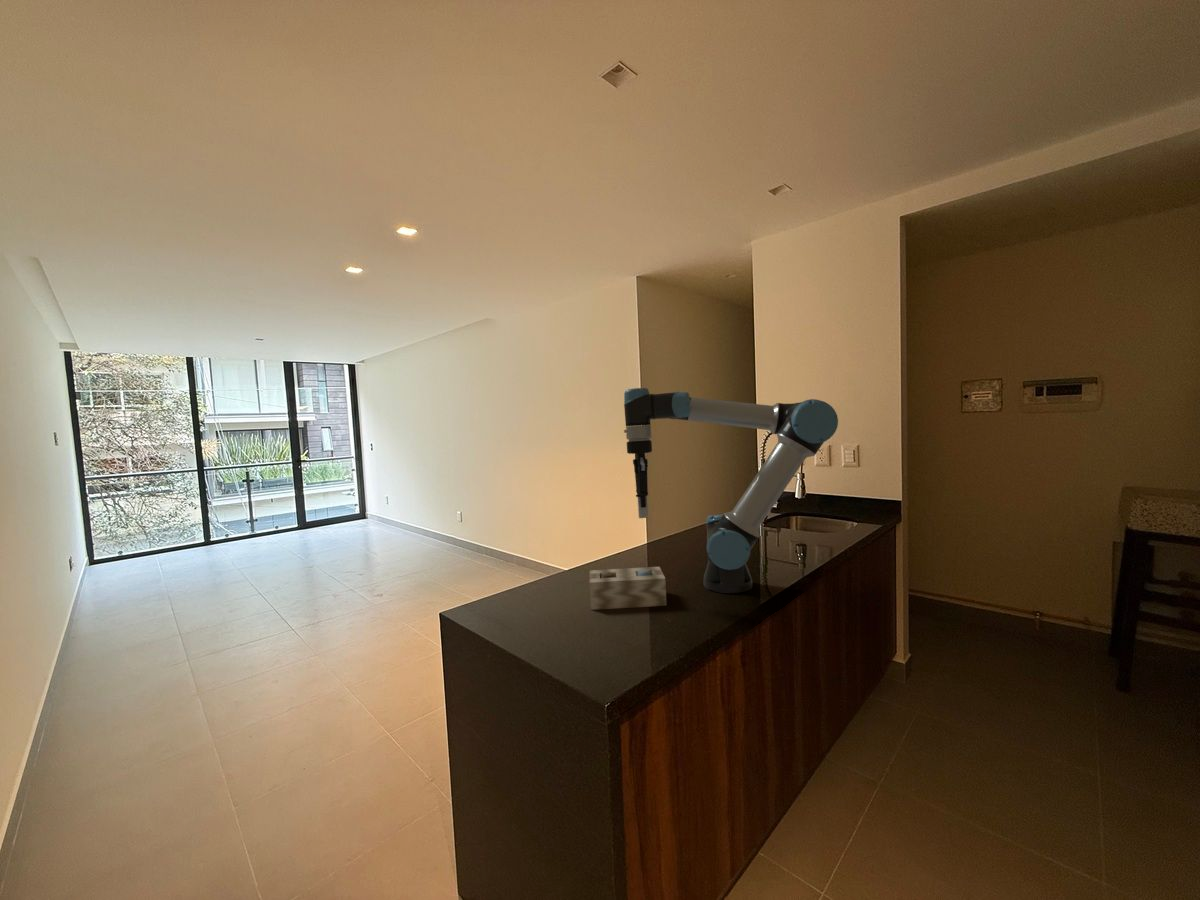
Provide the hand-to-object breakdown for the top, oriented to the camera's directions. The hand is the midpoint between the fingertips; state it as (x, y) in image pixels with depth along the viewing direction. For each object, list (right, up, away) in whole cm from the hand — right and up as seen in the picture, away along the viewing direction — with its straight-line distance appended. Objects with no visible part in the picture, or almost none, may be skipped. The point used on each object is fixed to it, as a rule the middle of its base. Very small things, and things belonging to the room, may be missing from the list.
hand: (643, 517), depth 144 cm
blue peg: (+1, -24, 0) cm, 24 cm away
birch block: (-5, -25, 0) cm, 26 cm away
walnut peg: (-10, -25, 0) cm, 27 cm away
